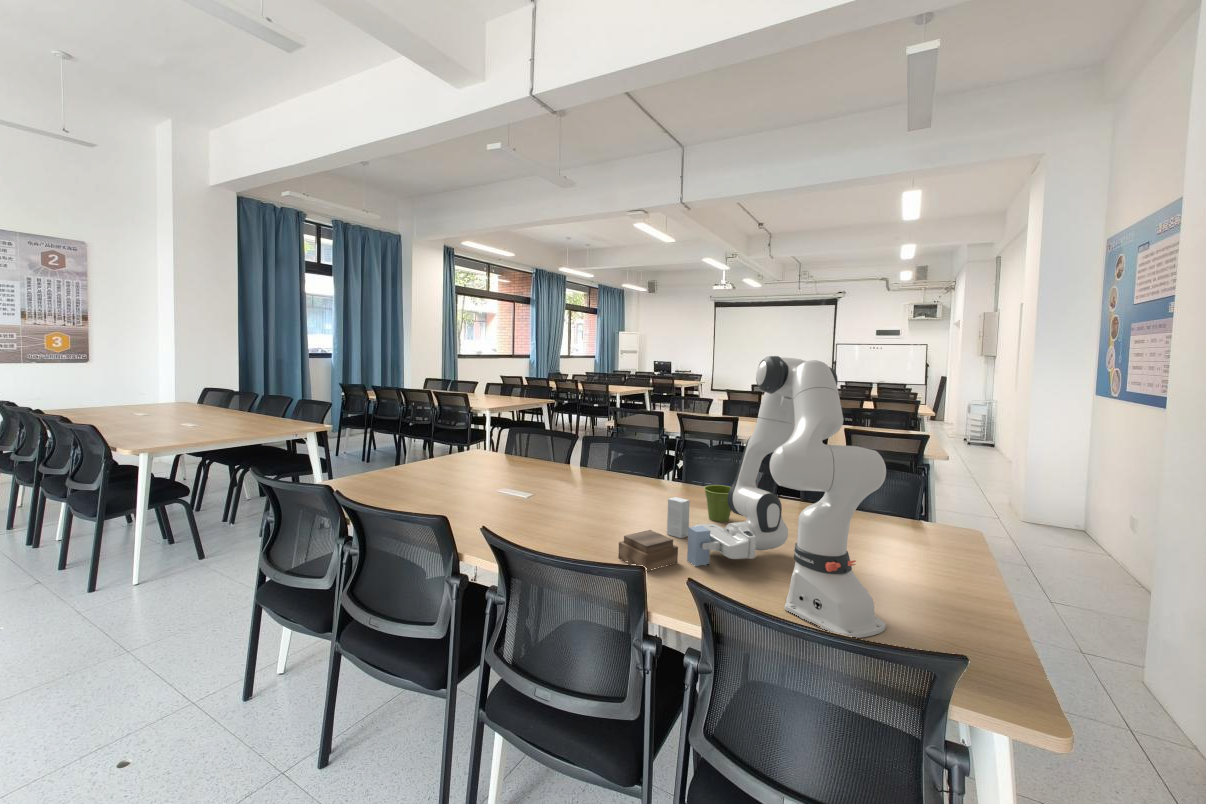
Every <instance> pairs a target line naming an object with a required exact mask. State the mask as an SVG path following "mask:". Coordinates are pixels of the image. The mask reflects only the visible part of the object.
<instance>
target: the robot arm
mask: <svg viewBox="0 0 1206 804" xmlns="http://www.w3.org/2000/svg"><path fill="white" fill-rule="evenodd" d="M755 381H756V385H757V387H758V389H759V390H761V391H763V392H764V394H763V396H762V398H761V401H760V407H759V410H758V415H757V420H756V424H755V426H754V429H753V432H752V433H751V435H750V437H749V438H748V440H746V443H745V446H744V449H743V452H742V456H741V459H740V461H739V465H738V469H737V472H736V475H735V478H734V482H733V483H732V485H731V486H730V487H731V488H730V491H729V493H728V499H727V500H728V505H729V508H730V509H731V512H732V513H734V514H736V515H738V516H741V517H745V518H746V520H745V521H738V522H736V521H735V522H731V523H728V524H726V526H725V527H722V526H719V525H718V524H715V523H698V524H695V525H694V526H704V527H705V528H707V529H709V530H710V542H708V543H707V542H701V543H700V545H701V546H700V548H702V549H703V550H710V551H715V552H716V551H717V552H718V553H720V554H721V555H723V556H725V557H726V558H727V559H731V560H742V559H743V560H744V559H749V560H751V559H755V558H756V551H757V552H758V551H761V552H762V551H767V550H774V549H776V548H779V547H781V546H783V545H784V544H785V543H786V541H788V537H789V528H788V526H787V524H786V522H785V521H784V520H783V516H782V511H783V510H782V508H783V507H782V501H781V500H780V499H781V498H779V497H778V496H777V495H776V494H775V493H772V492H770V491H768V490H764V489H762V488H759V487H757V486H756V485H757V484H756V482H757V481H756V480H757V478H758V474H759V470H760V468H761V464H762V461H763V460H764V458H766V456H767V455H769V454H771V453H772V454H771V457H770V459H769V471H770V474H771V477H772V479H773V481H774V482H775V483H776V484H777V485H778V486H780V487H783V488H788V489H792V490H796V491H807V492H809V491H810V492H824V494H823V496H822V498H820V500H818V501H816V502H814V503H812V504H810V505H808V506H806V507H805V508H804V509H803V510H802V511H801V512H800V514H799V516H798V518H797V519H798V523H797V534H796V535H797V539H796V543H795V545H794V549H793V559H794V561H795V562H794V563H795V564H794V568H793V571H792V573H791V578H790V585H789V589H788V594H787V596H786V602H785V604H784V610H785V612H786V611H787V612H788V611H789V612H788V613H790V612H791V613H790V614H792V613H793V614H792V615H794V614H795V616H796V615H797V616H796V617H798V616H799V617H798V618H800V619H803V620H804V619H805V620H804V621H806V620H807V621H806V622H808V621H809V622H808V623H810V622H812V623H815V624H817V625H820V626H822V627H819V626H817V627H818V628H820V629H822V630H824V629H825V630H828V631H831V632H835V633H839V634H844V635H847V636H852V637H856V638H855V639H858V638H859V639H860V638H866V637H867V638H868V637H871V636H875V635H878V634H880V633H882V632H884V631H885V630H886V628H887V627H886V623H885V621H884V620H882V619H880V618H879V617H878V616H876V615H875V603H874V599H873V597H872V596H871V594H870V593H869V591H868V589H867V588H865V587H864V585H863V584H862V583H861V581H860V580H859V579H858V577H857V576H856V574H855V573H854V572H853V571H852V570H853V567H852V566H857V565H856V562H857V560H855V559H854V560H851V558H850V554H849V551H848V538H849V531H850V527H851V526H850V525H851V521H852V518H853V515H854V513H855V512H856V510H857V508H858V507H859V505H860V504H861V503H862V502H863V501H864V500H865V499H866V498H867V497H868V496H869V495H870V494H872V493H874V492H875V491H877V490H879V489H880V488H881V487H882V485H883V484H884V482H885V480H886V476H887V467H886V463H885V461H884V458H883V457H882V456H881V454H880V453H879V452H878V451H877V450H874V449H870V448H866V447H862V446H856V445H840V444H838V445H837V444H825V443H823V441H824V440H827V439H829V438H831V437H833V436H834V435H836V434H838V432H840V430H841V429H842V427H843V424H844V415H843V409H842V404H841V399H840V394H839V389H838V382H839V381H838V375H837V372H836V371H835V369H834V368H832V367H830V366H829V365H828V364H827V363H825V362H823V361H821V360H818V359H817V360H816V359H815V360H811V359H810V360H802V359H801V358H800V359H799V358H793V357H780V356H778V355H774V356H773V355H771V356H770V355H769V356H766V357H764V358H763V359H762V360H761V361H759V365H758V367H757V370H756V373H755ZM812 623H811V624H812ZM825 630H824V631H825Z"/></svg>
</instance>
